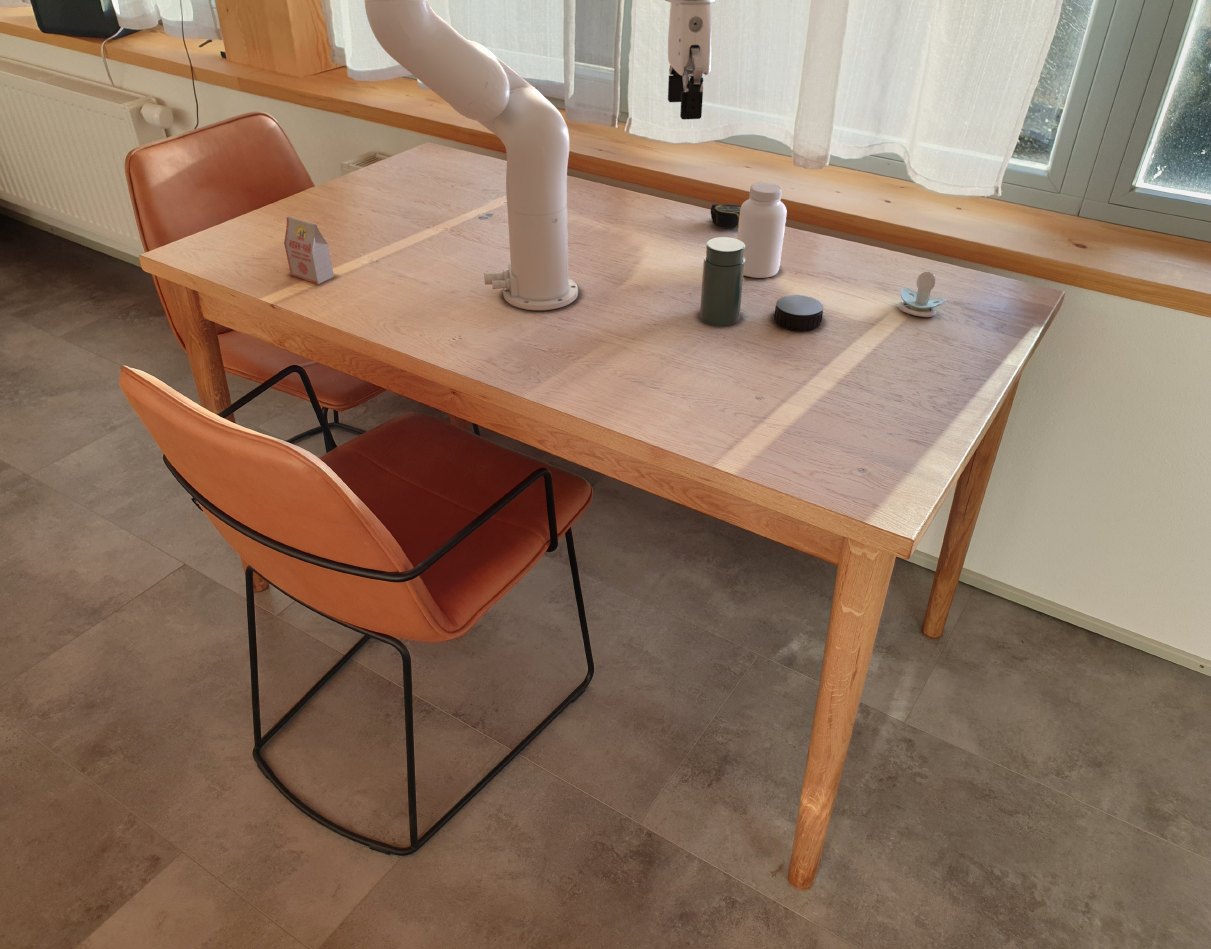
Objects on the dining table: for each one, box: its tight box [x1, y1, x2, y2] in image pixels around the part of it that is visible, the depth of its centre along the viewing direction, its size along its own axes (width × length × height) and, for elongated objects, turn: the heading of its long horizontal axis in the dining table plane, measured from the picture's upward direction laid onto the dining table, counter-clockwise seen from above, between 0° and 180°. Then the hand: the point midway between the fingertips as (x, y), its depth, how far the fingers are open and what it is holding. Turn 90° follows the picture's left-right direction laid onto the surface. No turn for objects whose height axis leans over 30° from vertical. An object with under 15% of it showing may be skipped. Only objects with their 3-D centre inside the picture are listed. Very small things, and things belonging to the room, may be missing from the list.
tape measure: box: [710, 203, 742, 230], centre depth 182 cm, size 7×7×4 cm
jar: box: [699, 236, 745, 327], centre depth 148 cm, size 6×6×12 cm
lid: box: [773, 294, 824, 332], centre depth 150 cm, size 8×8×3 cm
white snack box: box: [283, 216, 335, 285], centre depth 161 cm, size 4×7×10 cm, turn 58°
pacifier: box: [896, 271, 947, 318], centre depth 152 cm, size 7×6×6 cm
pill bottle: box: [736, 181, 788, 279], centre depth 162 cm, size 8×8×15 cm
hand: (684, 109), depth 147 cm, fingers open, 9 cm apart
